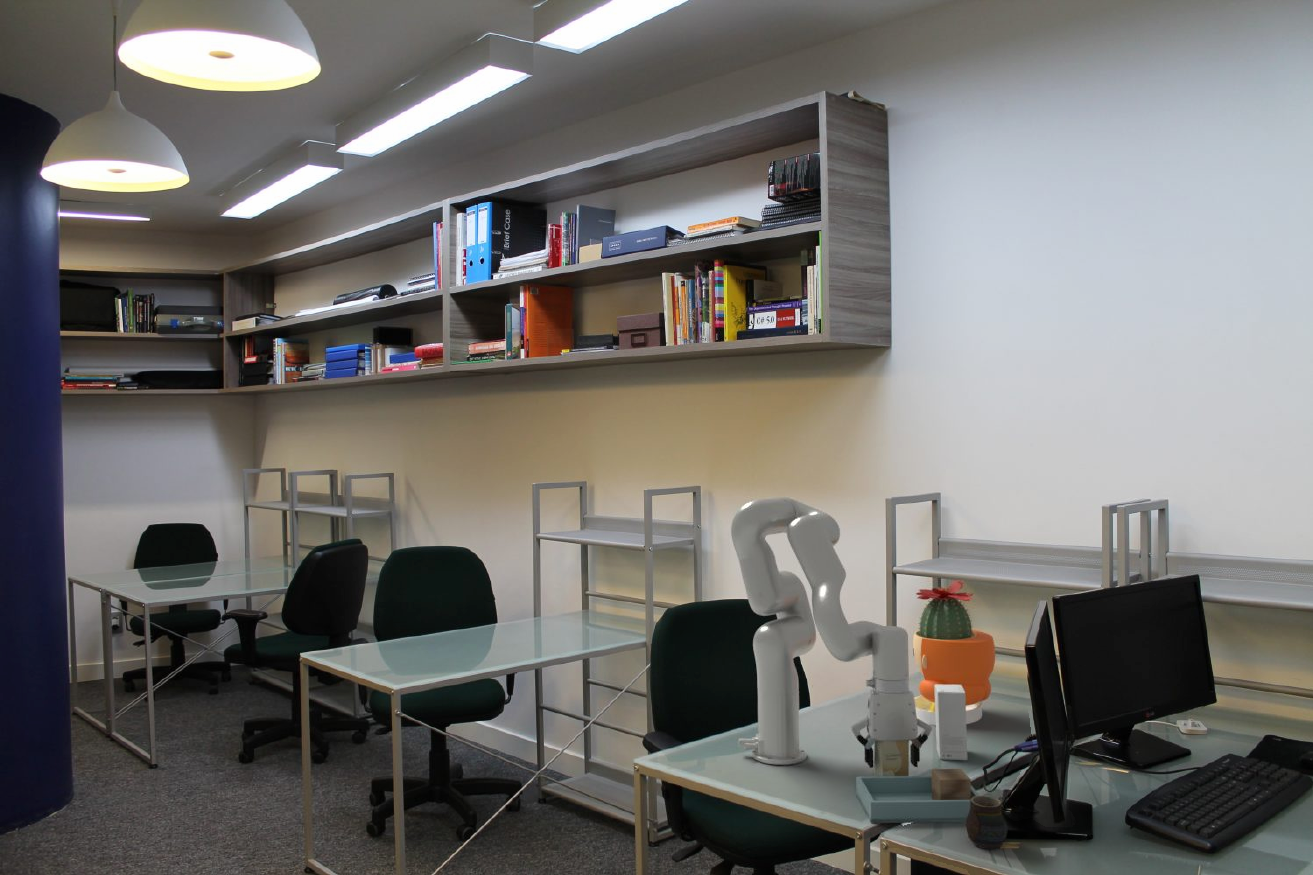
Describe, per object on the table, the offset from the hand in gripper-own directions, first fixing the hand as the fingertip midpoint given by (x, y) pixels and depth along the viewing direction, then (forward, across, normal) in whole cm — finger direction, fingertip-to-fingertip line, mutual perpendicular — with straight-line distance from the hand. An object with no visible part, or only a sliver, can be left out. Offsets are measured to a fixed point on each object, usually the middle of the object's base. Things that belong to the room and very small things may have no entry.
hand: (892, 765), depth 208 cm
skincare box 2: (+4, +18, +18) cm, 26 cm away
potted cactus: (+4, +28, +48) cm, 56 cm away
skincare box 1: (+4, 0, 0) cm, 4 cm away
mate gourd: (+4, +10, -31) cm, 33 cm away
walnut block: (+3, +8, -14) cm, 17 cm away
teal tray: (+4, +2, -14) cm, 15 cm away
